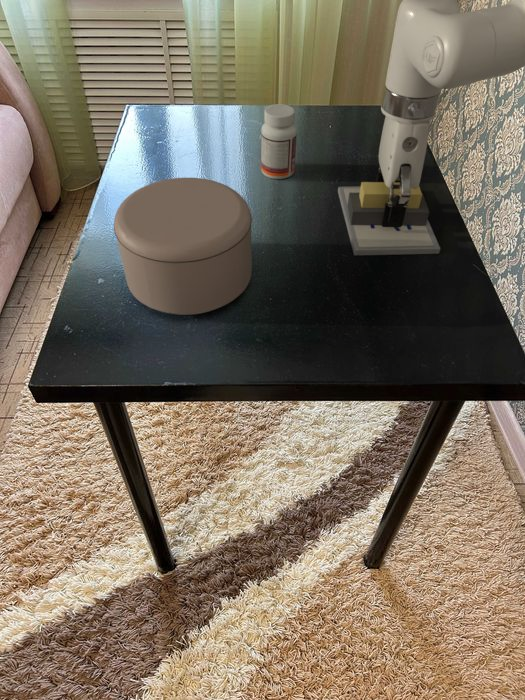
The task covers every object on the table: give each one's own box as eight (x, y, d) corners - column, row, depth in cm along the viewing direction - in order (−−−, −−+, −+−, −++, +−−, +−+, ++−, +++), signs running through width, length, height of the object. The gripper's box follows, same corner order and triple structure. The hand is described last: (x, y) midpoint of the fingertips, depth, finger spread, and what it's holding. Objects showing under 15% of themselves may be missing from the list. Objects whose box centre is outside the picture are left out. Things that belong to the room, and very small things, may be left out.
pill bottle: (279, 159, 101) (281, 99, 93) (301, 173, 98) (305, 111, 90) (254, 170, 99) (254, 108, 90) (275, 184, 96) (277, 121, 87)
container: (269, 305, 74) (271, 235, 66) (140, 335, 70) (123, 265, 62) (231, 232, 86) (228, 164, 77) (118, 254, 82) (102, 185, 73)
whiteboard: (438, 253, 83) (440, 248, 82) (353, 255, 82) (354, 250, 81) (411, 190, 95) (413, 185, 94) (337, 191, 94) (338, 186, 93)
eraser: (419, 206, 89) (426, 179, 86) (425, 225, 86) (433, 198, 82) (347, 205, 89) (351, 178, 86) (350, 224, 86) (355, 197, 82)
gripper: (451, 130, 68) (420, 243, 81) (425, 76, 80) (401, 182, 93) (392, 129, 68) (370, 242, 81) (374, 75, 80) (358, 181, 93)
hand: (387, 209), depth 87 cm, fingers open, 8 cm apart
